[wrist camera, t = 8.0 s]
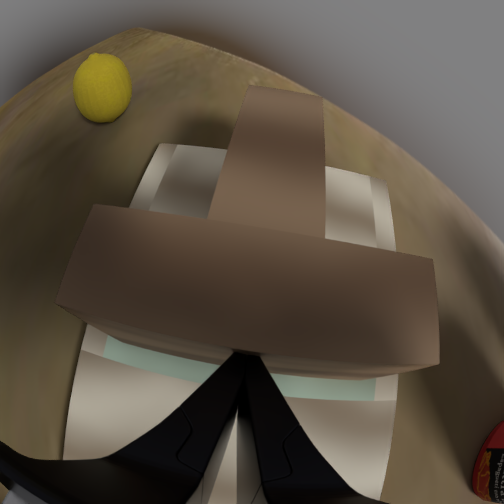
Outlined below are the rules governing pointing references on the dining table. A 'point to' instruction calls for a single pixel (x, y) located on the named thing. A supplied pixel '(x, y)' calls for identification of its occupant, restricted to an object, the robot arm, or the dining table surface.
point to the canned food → (491, 468)
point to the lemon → (102, 88)
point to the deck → (195, 372)
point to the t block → (257, 266)
